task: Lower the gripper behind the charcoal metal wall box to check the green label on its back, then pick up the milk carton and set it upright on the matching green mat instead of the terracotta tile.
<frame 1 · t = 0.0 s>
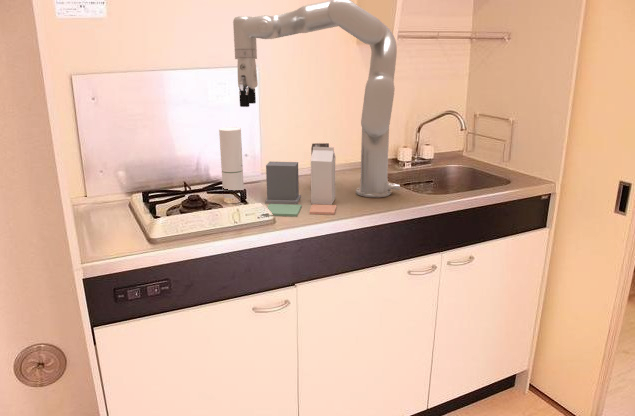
hand: (248, 104, 189), 31 cm above the worktop, tool pointing down, fingers open, 9 cm apart
wall box: (283, 200, 185), on the worktop
milk carton: (323, 202, 184), on the worktop
coffee box: (320, 188, 201), on the worktop
green mat: (282, 211, 174), on the worktop
terracotta tile: (323, 210, 174), on the worktop
cylindrical container: (233, 201, 185), on the worktop
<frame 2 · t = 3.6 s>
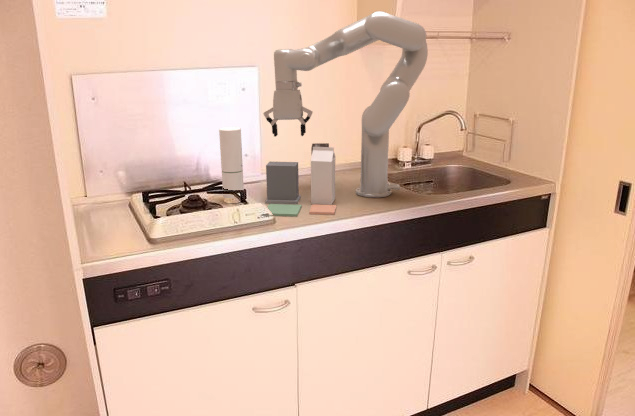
hand: (289, 135, 189), 21 cm above the worktop, tool pointing down, fingers open, 9 cm apart
nothing on the worktop moved.
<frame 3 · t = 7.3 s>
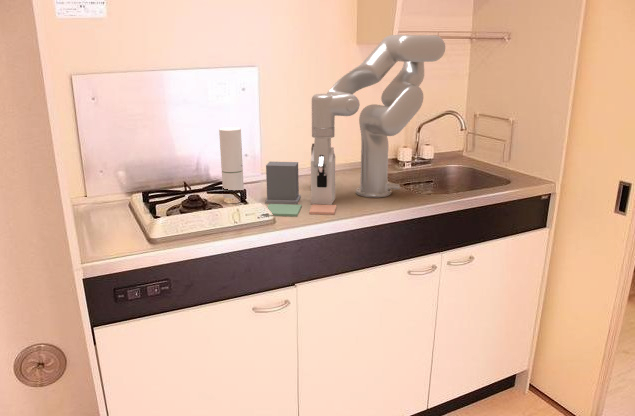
hand: (323, 183, 182), 6 cm above the worktop, tool pointing down, fingers closed on milk carton, 7 cm apart
milk carton: (323, 202, 184), on the worktop, touching gripper
everything else where it was.
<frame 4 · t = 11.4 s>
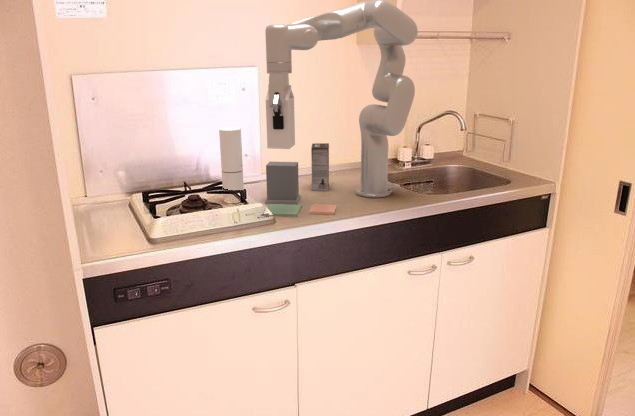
hand: (280, 126, 166), 28 cm above the worktop, tool pointing down, fingers closed on milk carton, 7 cm apart
milk carton: (281, 147, 168), point 21 cm above the worktop, touching gripper
everything else where it was.
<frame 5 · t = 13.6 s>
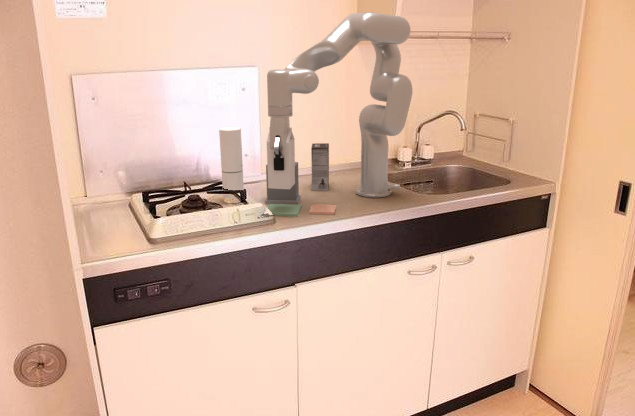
hand: (281, 167, 169), 15 cm above the worktop, tool pointing down, fingers closed on milk carton, 7 cm apart
milk carton: (281, 187, 171), point 8 cm above the worktop, touching gripper
everything else where it was.
when the fingers open (9 cm above the worktop, at t = 15.5 s): milk carton drops 1 cm, resting on green mat.
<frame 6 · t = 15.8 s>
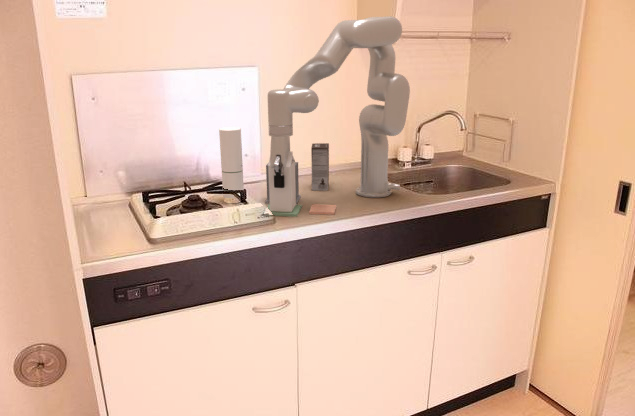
hand: (282, 183, 171), 9 cm above the worktop, tool pointing down, fingers open, 9 cm apart
milk carton: (283, 209, 174), point 1 cm above the worktop, touching green mat
everything else where it was.
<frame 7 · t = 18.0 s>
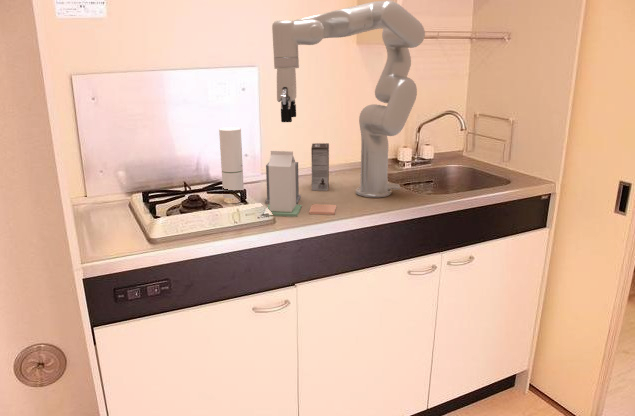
hand: (289, 119, 168), 29 cm above the worktop, tool pointing down, fingers open, 9 cm apart
nothing on the worktop moved.
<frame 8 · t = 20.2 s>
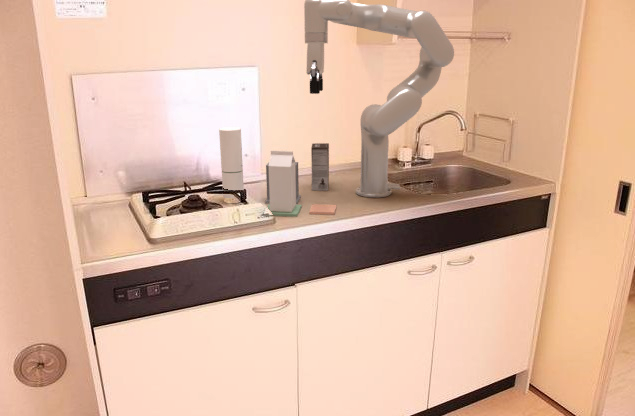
hand: (316, 92, 180), 36 cm above the worktop, tool pointing down, fingers open, 9 cm apart
nothing on the worktop moved.
at the end: milk carton inside the target area on the green mat (0.2 cm from its centre), point 0.6 cm above the green mat's base; milk carton tilted 0°; the gripper is holding nothing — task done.
